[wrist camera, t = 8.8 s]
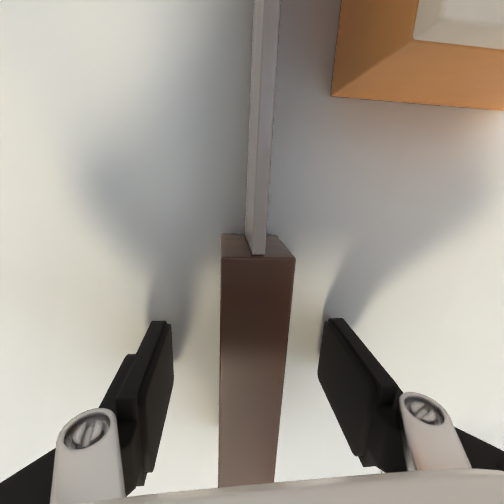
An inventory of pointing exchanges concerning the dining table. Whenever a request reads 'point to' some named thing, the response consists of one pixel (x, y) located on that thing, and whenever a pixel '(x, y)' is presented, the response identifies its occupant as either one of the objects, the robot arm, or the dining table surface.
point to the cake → (421, 52)
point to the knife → (254, 292)
